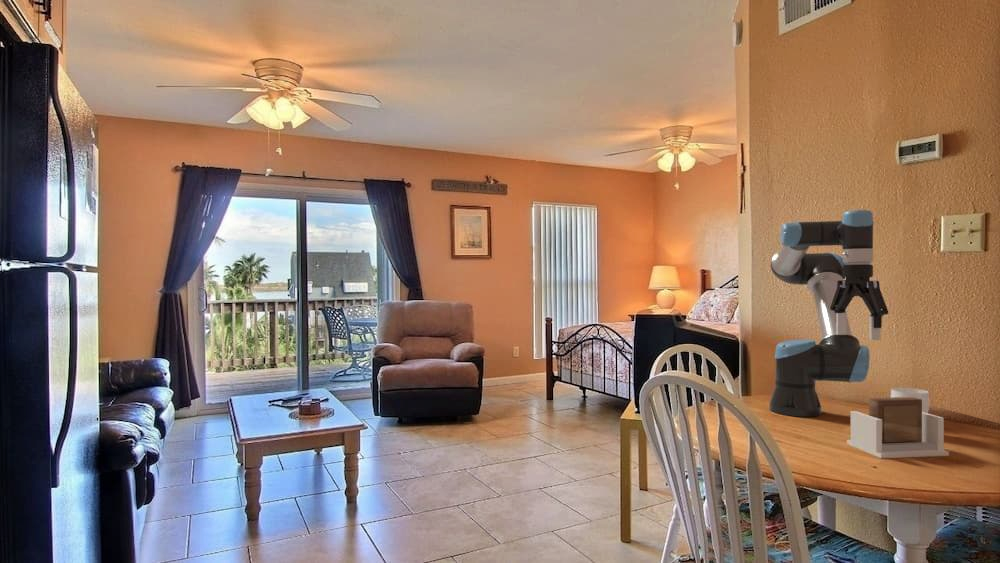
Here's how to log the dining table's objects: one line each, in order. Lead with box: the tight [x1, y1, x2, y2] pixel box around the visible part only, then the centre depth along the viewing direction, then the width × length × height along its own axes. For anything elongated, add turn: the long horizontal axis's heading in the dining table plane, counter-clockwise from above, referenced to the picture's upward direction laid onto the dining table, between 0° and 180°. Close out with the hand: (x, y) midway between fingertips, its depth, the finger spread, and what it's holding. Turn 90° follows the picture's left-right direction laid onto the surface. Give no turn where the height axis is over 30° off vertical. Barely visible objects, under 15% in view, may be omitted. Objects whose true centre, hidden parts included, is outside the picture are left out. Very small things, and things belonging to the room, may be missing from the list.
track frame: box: [846, 410, 950, 459], centre depth 145 cm, size 12×18×9 cm, turn 95°
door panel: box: [868, 397, 922, 444], centre depth 145 cm, size 3×12×12 cm, turn 95°
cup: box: [890, 386, 931, 413], centre depth 161 cm, size 9×9×12 cm
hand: (857, 337), depth 164 cm, fingers open, 13 cm apart
